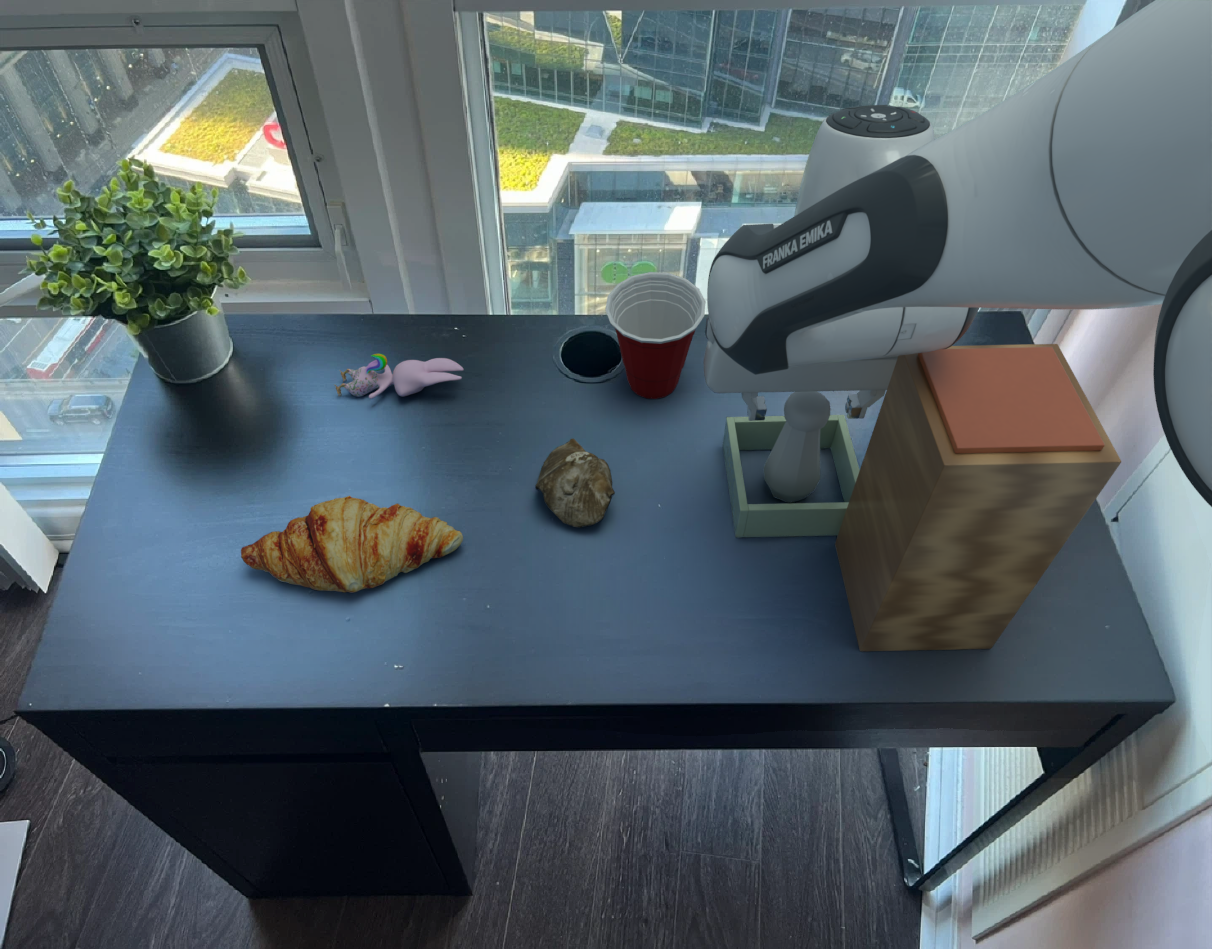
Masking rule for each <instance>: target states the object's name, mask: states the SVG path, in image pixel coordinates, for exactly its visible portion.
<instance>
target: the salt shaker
mask: <svg viewBox="0 0 1212 949" xmlns="http://www.w3.org/2000/svg"><path fill="white" fill-rule="evenodd" d="M783 405H784V406H783V416H785V420H786V423H785V425H784V427H783V429H782V431H781V433H780V435H779V437H778V439H777V441H776V443H775V445H774V447H773V449H771V451H770V453H769V455H768V457H767V459H766V461H765V464H764V465H763V479H764V482H765V483H766V484H767V486H768V488H769V489H770V491H771V494H772V498H776V499H778V500H780V501H783V502H785V503H786V504H788V503H795V502H798V501H802V500H804V499H806V498H807V497H808V496H810V495H811V494H812V493H814V492H815V490H816V488H817V487H818V484H819V483H820V481H821V448H820V429H821V428H823V427H824V426H825V425H826V423H827V421H828V419H829V417H830V415H831V402H830V401H829V399H828V398H827V397H826V395H824V394H823V393H821V392H820V391H810V392H791V393H790V394H789V396H788V398H787V399H786V400H785V403H784V404H783Z"/></svg>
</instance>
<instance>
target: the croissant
mask: <svg viewBox="0 0 1212 949" xmlns="http://www.w3.org/2000/svg"><path fill="white" fill-rule="evenodd" d="M463 541H464V535H463V533H462V532H461V531H460V530H457V529H455V528H454V527H453V526H451V525H449V524H448V522H447V521H444V520H441V519H440V517H438V516H434V517H427V516H424V515H423V514H422V513H420V511H417V510H415V509H414V508H412V507H411V506H405V505H401V504H400V503H394V504H391V505H390V506H389V507H387V506H386V507H385V506H383V507H380V506H378V505H376V504H374V503H371V502H368V501H366V500H365V499H361V498H357V497H352V496H351V495H347V496H344V497H335V498H334V499H330V500H325V501H322V502H319V503H317V504H313V506H311V507H310V511H309V512H308V514H307V515H305V516H302V517H301V516H299V517H296V518H292V519H290V520H289V522H288V523H287V525H286V527H285V529H284V530H283V531H271V532H269V533H266V534H265V535H262V536H261V537H260V538H259V539H257V540H256V541H255V542H253V543H251V544H248V545H245V546H242V547H241V549H240V558H241V559H242V561H243V562H244V563H245V565H247V566H248V567H250V568H251V569H252V570H257V571H264V572H265V573H269V574H270V575H271V576H272V577H273V578H275V579H277V580H278V581H280V582H283V583H287V584H290V585H294V586H302V587H304V588H309V589H312V590H315V591H324V592H325V591H326V592H339V593H357V592H360V591H361V590H364V589H374V588H376V587H379V586H381V585H384V584H385V582H387V581H389V580H391V579H393V578H395V577H397V576H398V574H399V573H404V574H407V573H409V572H411V571H413V570H416V569H418V568H419V567H420V566H422V565H424V563H427V562H430V560H431V559H440V558H443V557H445V556H446V555H448V554H452V553H453V552H454V551H456V550H457V549H458V548H459V547H460V546H461V545H462V543H463Z"/></svg>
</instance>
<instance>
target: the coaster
mask: <svg viewBox="0 0 1212 949" xmlns="http://www.w3.org/2000/svg"><path fill="white" fill-rule="evenodd" d="M918 357H919V359H920V362H921V365H922V367H923V370H924V372H925V375H926V378H927V380H928V383H929V386H930V388H931V391H932V394H933V396H934V399H935V401H936V404H937V407H938V409H939V412H940V415H941V417H942V420H943V423H944V425H945V428H946V430H947V433H948V436H949V438H950V441H951V444H952V446H953V449H954V452H955V453H1005V452H1054V451H1101V450H1102V449H1103V447H1104V446H1105V444H1104V442H1103V440H1102V438H1101V437H1100V435H1099V433H1098V431H1097V429H1096V427H1095V425H1094V424H1093V422H1092V420H1091V418H1090V416H1089V414H1088V412H1087V411H1086V409H1085V407H1084V405H1083V403H1082V401H1081V399H1080V398H1079V396H1078V394H1077V392H1076V390H1075V388H1074V386H1073V385H1072V383H1071V381H1070V379H1069V377H1068V375H1067V373H1066V371H1065V370H1064V368H1063V366H1062V364H1061V362H1060V360H1059V358H1058V357H1057V355H1056V353H1055V351H1054V349H1053V347H1017V348H968V349H940V350H935V351H931V352H924V353H918Z"/></svg>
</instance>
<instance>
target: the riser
mask: <svg viewBox="0 0 1212 949" xmlns="http://www.w3.org/2000/svg"><path fill="white" fill-rule="evenodd" d="M1017 347H1053V349H1054V351H1055V353H1056V355H1057V357H1058V358H1059V360H1060V362H1061V364H1062V366H1063V368H1064V370H1065V371H1066V373H1067V375H1068V377H1069V379H1070V381H1071V383H1072V385H1073V386H1074V388H1075V390H1076V392H1077V394H1078V396H1079V398H1080V399H1081V401H1082V403H1083V405H1084V407H1085V409H1086V411H1087V412H1088V414H1089V416H1090V418H1091V420H1092V422H1093V424H1094V425H1095V427H1096V429H1097V431H1098V433H1099V435H1100V437H1101V438H1102V440H1103V442H1104V444H1105V446H1104V447H1103V449H1102V450H1101V451H1054V452H1005V453H955V452H954V449H953V446H952V444H951V441H950V438H949V436H948V433H947V430H946V428H945V425H944V423H943V420H942V417H941V415H940V412H939V409H938V407H937V404H936V401H935V399H934V396H933V394H932V391H931V388H930V386H929V383H928V380H927V378H926V375H925V372H924V370H923V367H922V365H921V362H920V359H919V357H918V353H916V354H908V355H899V356H898V358H897V361H896V364H895V367H894V370H893V373H892V376H891V379H890V382H889V385H888V388H887V390H886V391H885V394H884V396H883V397H884V398H883V400H882V402H881V407H880V409H879V412H878V415H877V417H876V421H875V424H874V426H873V431H872V433H871V436H870V439H869V441H868V445H867V447H866V450H865V454H864V457H863V458H862V462H861V466H860V467H859V470H860V471H859V474H858V477H857V480H856V483H855V486H854V489H853V492H852V495H851V498H850V501H849V504H848V507H847V510H846V513H845V516H844V518H843V521H842V524H841V527H840V530H839V533H838V535H836V536H837V537H836V540H835V542H834V547H835V551H836V555H837V559H838V564H839V568H840V573H841V576H842V580H843V584H844V589H845V593H846V597H847V601H848V607H849V611H850V615H851V618H852V623H853V626H854V627H853V628H854V632H855V637H856V640H857V645H858V648H859V652H893V651H894V652H896V651H898V652H901V651H902V652H904V651H944V650H945V651H949V650H951V651H952V650H990V649H991V650H992V649H993V647H994V646H995V644H996V643H997V641H998V640H999V638H1000V637H1001V636H1002V634H1003V633H1004V632H1005V631H1006V629H1007V627H1008V626H1009V624H1010V623H1011V621H1012V620H1013V619H1014V617H1015V615H1016V614H1017V612H1018V611H1019V610H1020V608H1021V607H1022V606H1023V604H1024V603H1025V601H1026V600H1027V598H1028V597H1029V595H1030V594H1031V593H1032V591H1033V590H1034V589H1035V587H1036V586H1037V584H1038V583H1039V582H1040V580H1041V578H1042V577H1043V575H1044V574H1045V573H1046V571H1047V569H1049V567H1050V565H1051V564H1052V562H1054V560H1055V558H1057V555H1058V554H1059V552H1060V551H1061V550H1062V548H1063V547H1064V545H1065V544H1066V542H1067V541H1068V540H1069V538H1070V536H1071V535H1072V534H1073V532H1074V531H1075V530H1076V528H1077V527H1078V525H1079V524H1080V523H1081V521H1082V520H1083V518H1084V517H1085V515H1086V514H1087V512H1088V511H1089V510H1090V508H1091V507H1092V505H1093V504H1094V502H1095V501H1096V500H1097V498H1098V497H1099V495H1100V494H1101V492H1102V491H1103V489H1104V488H1105V486H1106V485H1107V483H1108V482H1109V481H1110V480H1111V478H1112V477H1113V475H1114V474H1115V472H1116V471H1117V470H1118V468H1119V466H1120V465H1121V464H1122V459H1121V458H1120V456H1119V454H1118V452H1117V449H1115V447H1114V444H1113V443H1112V441H1111V439H1110V437H1109V436H1108V434H1107V432H1106V430H1105V428H1104V426H1103V425H1102V422H1101V420H1100V419H1099V417H1098V415H1097V413H1096V412H1095V410H1094V408H1093V406H1092V405H1091V402H1090V401H1089V399H1088V397H1087V394H1085V391H1084V390H1083V388H1082V386H1081V384H1080V382H1079V380H1078V379H1077V377H1076V375H1075V373H1074V372H1073V370H1072V368H1071V366H1070V364H1069V362H1068V360H1067V359H1066V357H1065V355H1064V352H1063V351H1062V350H1061V348H1060V346H1059V344H1058V343H1032V344H1031V343H1030V344H1027V343H1026V344H985V345H984V344H983V345H981V344H980V345H976V344H975V345H952V346H951V347H949V348H947V349H968V348H1017Z"/></svg>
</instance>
